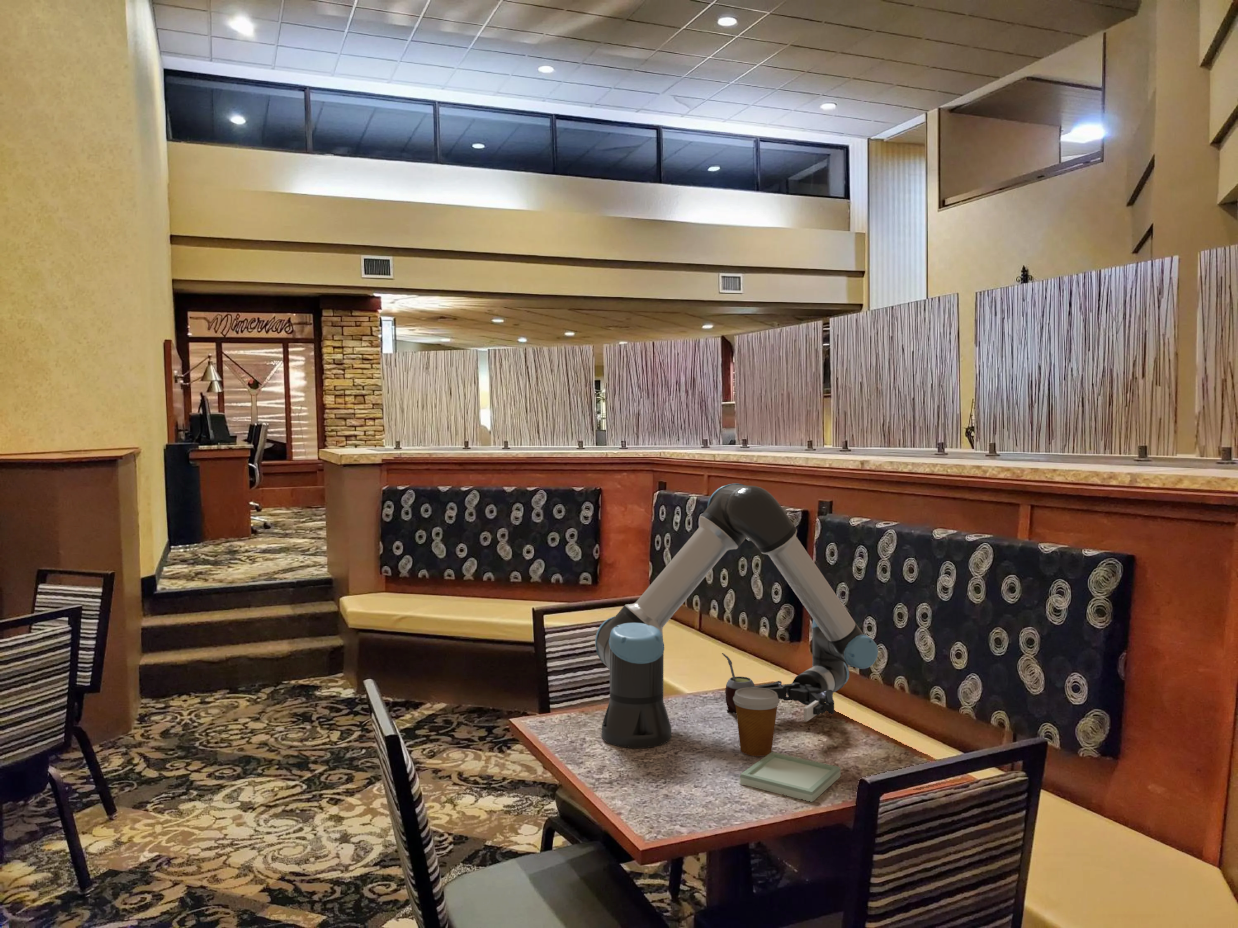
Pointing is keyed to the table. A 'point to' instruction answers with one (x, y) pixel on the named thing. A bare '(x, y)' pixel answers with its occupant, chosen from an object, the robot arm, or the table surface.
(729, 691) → the mate gourd
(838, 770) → the coaster plate
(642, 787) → the table surface
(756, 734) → the disposable coffee cup
